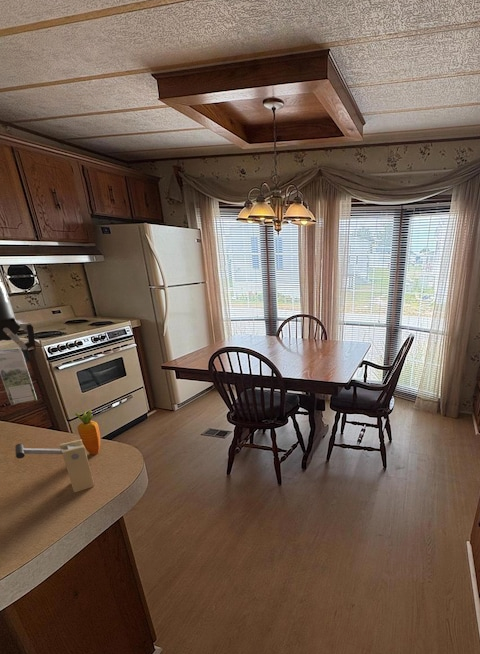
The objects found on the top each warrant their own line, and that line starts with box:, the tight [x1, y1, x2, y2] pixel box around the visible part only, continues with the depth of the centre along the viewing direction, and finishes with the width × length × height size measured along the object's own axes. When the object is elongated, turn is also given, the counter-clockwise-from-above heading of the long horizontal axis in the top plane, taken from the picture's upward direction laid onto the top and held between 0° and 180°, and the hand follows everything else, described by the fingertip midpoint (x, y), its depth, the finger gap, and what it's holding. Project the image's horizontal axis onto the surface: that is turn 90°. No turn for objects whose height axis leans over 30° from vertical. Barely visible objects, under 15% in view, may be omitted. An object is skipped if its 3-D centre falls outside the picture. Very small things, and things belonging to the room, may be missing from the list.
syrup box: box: [0, 347, 38, 406], centre depth 94 cm, size 6×6×14 cm
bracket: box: [59, 438, 95, 493], centre depth 86 cm, size 8×7×13 cm
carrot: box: [74, 410, 101, 456], centre depth 99 cm, size 5×5×15 cm
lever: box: [14, 443, 79, 459], centre depth 81 cm, size 12×5×2 cm, turn 131°
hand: (11, 364), depth 92 cm, fingers closed on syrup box, 6 cm apart
